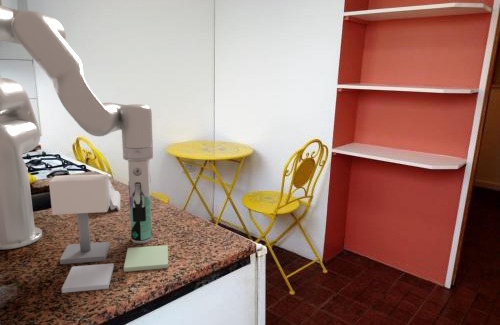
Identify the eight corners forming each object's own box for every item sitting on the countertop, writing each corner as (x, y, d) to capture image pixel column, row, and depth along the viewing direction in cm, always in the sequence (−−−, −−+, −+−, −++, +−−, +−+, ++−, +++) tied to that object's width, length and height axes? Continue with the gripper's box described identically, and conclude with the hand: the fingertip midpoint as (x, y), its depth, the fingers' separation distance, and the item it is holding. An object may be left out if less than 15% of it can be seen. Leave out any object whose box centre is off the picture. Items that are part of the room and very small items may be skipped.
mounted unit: (55, 264, 86) (46, 183, 82) (64, 249, 94) (56, 174, 89) (109, 260, 89) (103, 181, 84) (113, 245, 97) (109, 172, 92)
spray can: (145, 233, 105) (143, 165, 100) (155, 239, 101) (153, 169, 96) (127, 238, 101) (124, 168, 96) (137, 245, 97) (134, 172, 93)
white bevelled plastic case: (120, 211, 121) (107, 184, 117) (105, 217, 120) (92, 190, 116) (120, 195, 136) (109, 171, 133) (107, 200, 135) (96, 176, 132)
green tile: (123, 271, 84) (123, 267, 84) (127, 251, 94) (127, 247, 94) (168, 267, 87) (168, 264, 86) (167, 248, 96) (167, 245, 96)
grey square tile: (62, 292, 76) (61, 288, 75) (72, 270, 84) (72, 266, 84) (108, 288, 78) (107, 284, 77) (113, 267, 86) (113, 263, 86)
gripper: (151, 159, 88) (154, 226, 92) (153, 146, 104) (155, 203, 108) (118, 160, 86) (122, 228, 90) (126, 146, 103) (129, 204, 107)
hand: (140, 214), depth 99 cm, fingers open, 9 cm apart
